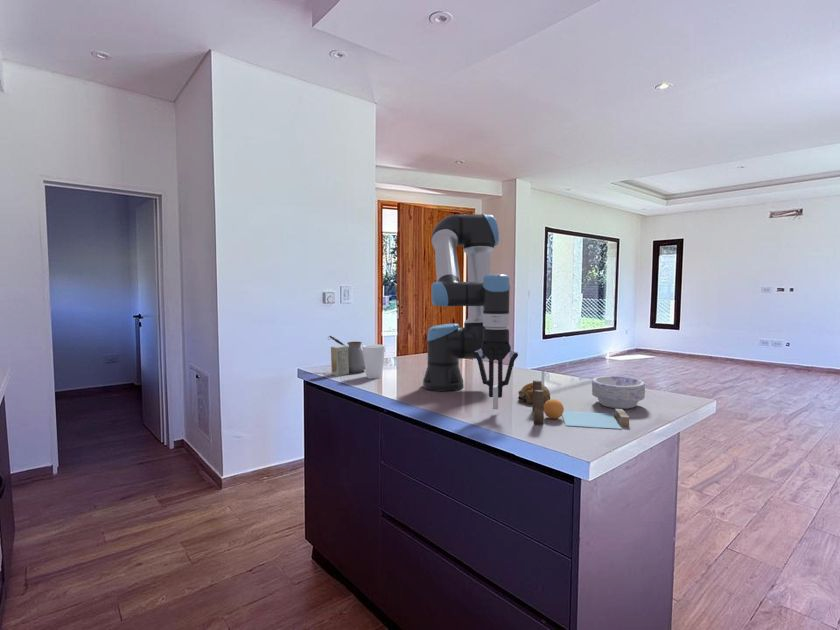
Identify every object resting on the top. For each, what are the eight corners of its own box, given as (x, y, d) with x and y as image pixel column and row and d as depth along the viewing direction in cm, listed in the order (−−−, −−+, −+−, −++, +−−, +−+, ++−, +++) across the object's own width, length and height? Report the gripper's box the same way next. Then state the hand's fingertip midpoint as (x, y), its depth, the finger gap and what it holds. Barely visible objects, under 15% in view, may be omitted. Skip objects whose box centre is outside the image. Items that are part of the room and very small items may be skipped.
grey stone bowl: (584, 406, 139) (584, 381, 139) (601, 396, 151) (601, 373, 150) (636, 415, 129) (637, 388, 129) (650, 404, 141) (651, 379, 140)
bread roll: (545, 417, 140) (557, 395, 139) (515, 402, 142) (527, 380, 141) (543, 408, 150) (554, 387, 149) (515, 394, 152) (526, 373, 150)
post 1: (532, 409, 136) (532, 380, 135) (541, 409, 135) (541, 380, 135) (532, 411, 133) (532, 382, 133) (541, 412, 133) (541, 382, 132)
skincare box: (343, 372, 194) (342, 344, 193) (349, 374, 191) (348, 345, 190) (330, 374, 190) (330, 346, 189) (336, 376, 186) (336, 347, 186)
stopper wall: (614, 417, 127) (615, 408, 127) (622, 417, 127) (622, 409, 127) (621, 425, 120) (621, 416, 119) (629, 426, 119) (629, 417, 119)
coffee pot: (373, 370, 199) (372, 337, 198) (356, 374, 190) (355, 339, 189) (338, 365, 211) (337, 334, 210) (320, 369, 201) (319, 336, 200)
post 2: (533, 421, 123) (533, 389, 123) (543, 422, 123) (543, 390, 122) (533, 424, 121) (534, 392, 120) (543, 425, 120) (544, 392, 120)
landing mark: (560, 411, 133) (560, 410, 133) (610, 414, 130) (610, 413, 130) (565, 426, 120) (565, 425, 120) (621, 429, 117) (621, 428, 117)
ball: (539, 405, 130) (552, 392, 128) (553, 418, 130) (567, 406, 128) (539, 411, 125) (554, 398, 123) (554, 425, 124) (568, 412, 123)
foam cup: (384, 379, 180) (383, 347, 179) (361, 379, 180) (361, 347, 179) (386, 374, 190) (386, 344, 189) (364, 374, 190) (364, 344, 189)
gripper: (472, 328, 127) (471, 410, 128) (519, 329, 124) (518, 413, 125) (474, 326, 134) (474, 403, 136) (519, 327, 131) (518, 405, 133)
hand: (495, 408), depth 131 cm, fingers closed
